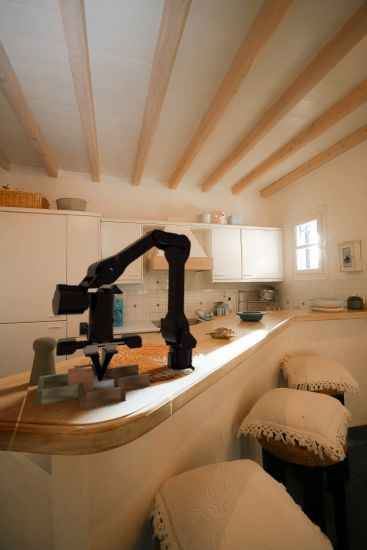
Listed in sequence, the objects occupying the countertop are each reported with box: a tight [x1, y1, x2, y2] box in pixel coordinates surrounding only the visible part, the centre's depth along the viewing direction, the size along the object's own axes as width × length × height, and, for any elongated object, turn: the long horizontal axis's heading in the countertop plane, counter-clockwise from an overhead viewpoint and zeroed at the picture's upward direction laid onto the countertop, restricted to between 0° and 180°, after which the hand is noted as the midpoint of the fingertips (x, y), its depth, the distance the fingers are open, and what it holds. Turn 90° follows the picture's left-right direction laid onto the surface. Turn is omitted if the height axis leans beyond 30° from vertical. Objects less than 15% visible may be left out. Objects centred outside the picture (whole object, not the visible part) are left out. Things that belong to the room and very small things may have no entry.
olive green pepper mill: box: [28, 336, 57, 387], centre depth 62 cm, size 6×6×11 cm
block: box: [67, 366, 94, 392], centre depth 56 cm, size 5×5×4 cm
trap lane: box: [35, 362, 151, 410], centre depth 57 cm, size 23×21×3 cm
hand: (99, 380), depth 58 cm, fingers closed
